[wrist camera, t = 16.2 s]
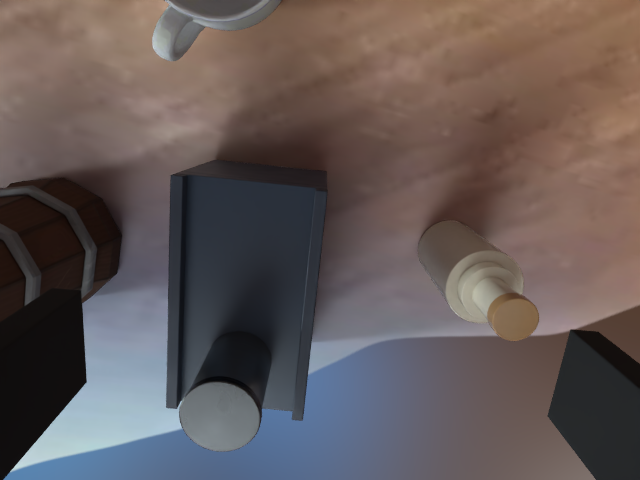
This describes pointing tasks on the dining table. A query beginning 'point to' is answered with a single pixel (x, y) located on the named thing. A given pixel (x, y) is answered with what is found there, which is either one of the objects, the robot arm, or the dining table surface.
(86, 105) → the dining table surface
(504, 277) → the oil bottle
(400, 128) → the dining table surface
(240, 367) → the spice tin
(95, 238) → the mug
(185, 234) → the blue channel bracket
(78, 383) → the robot arm
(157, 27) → the teacup
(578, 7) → the dining table surface
